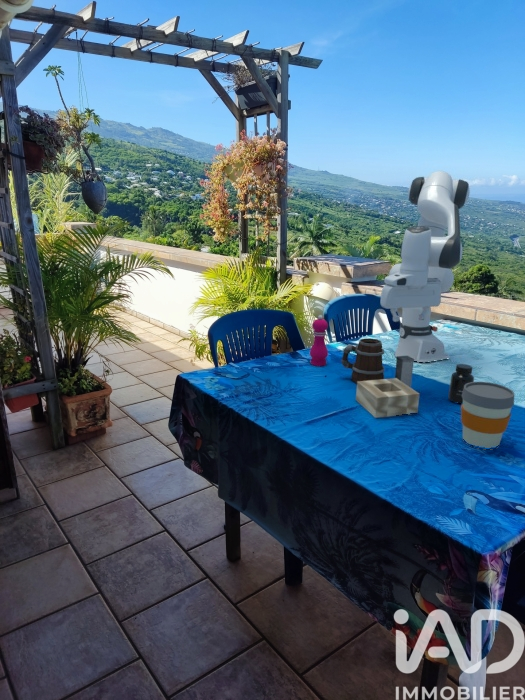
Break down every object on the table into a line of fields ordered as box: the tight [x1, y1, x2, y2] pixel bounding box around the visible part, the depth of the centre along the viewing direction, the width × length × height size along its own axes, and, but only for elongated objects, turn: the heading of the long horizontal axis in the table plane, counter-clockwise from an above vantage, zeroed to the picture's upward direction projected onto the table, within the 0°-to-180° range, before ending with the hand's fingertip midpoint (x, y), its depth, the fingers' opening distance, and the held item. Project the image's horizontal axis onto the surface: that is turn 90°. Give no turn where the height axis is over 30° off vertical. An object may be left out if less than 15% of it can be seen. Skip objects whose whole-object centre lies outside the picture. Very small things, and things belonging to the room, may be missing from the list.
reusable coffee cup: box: [460, 381, 515, 448], centre depth 125 cm, size 13×13×15 cm
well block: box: [355, 377, 420, 419], centre depth 148 cm, size 14×14×6 cm
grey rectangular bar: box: [394, 356, 415, 388], centre depth 160 cm, size 4×4×12 cm
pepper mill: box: [309, 314, 329, 367], centre depth 187 cm, size 7×7×20 cm
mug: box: [340, 337, 385, 385], centre depth 170 cm, size 16×12×15 cm
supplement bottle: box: [447, 363, 475, 403], centre depth 153 cm, size 7×7×12 cm
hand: (408, 320), depth 155 cm, fingers open, 8 cm apart
